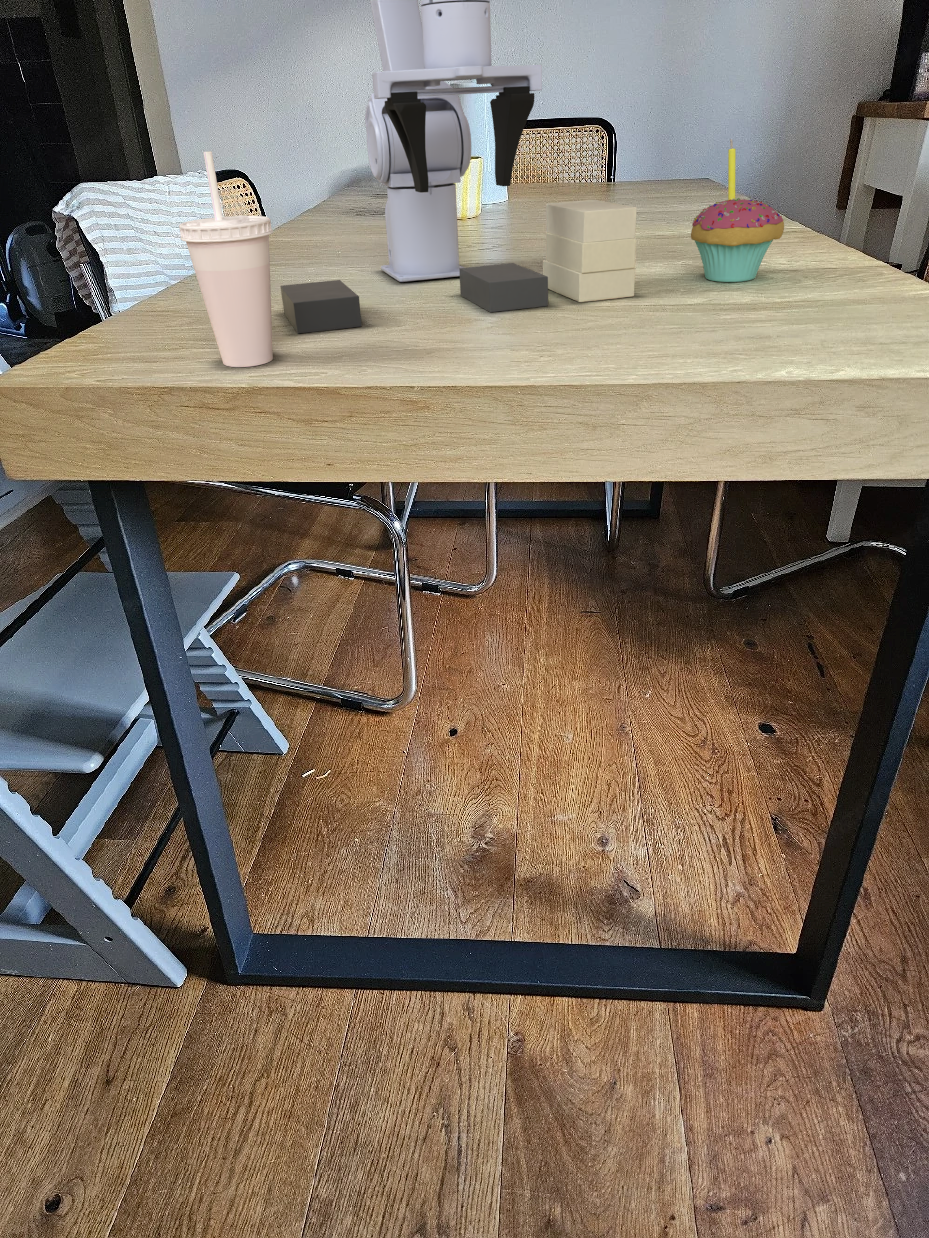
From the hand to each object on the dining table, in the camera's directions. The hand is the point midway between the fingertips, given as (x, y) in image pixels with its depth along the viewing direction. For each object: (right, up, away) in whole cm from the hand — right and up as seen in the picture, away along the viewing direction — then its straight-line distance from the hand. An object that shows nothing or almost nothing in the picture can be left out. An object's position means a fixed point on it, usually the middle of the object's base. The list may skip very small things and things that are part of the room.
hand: (462, 188), depth 80 cm
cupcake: (+26, -5, +7) cm, 28 cm away
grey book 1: (-13, -12, -1) cm, 18 cm away
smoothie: (-16, -19, -13) cm, 28 cm away
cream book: (+12, -3, +2) cm, 12 cm away
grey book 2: (+4, -9, +3) cm, 10 cm away
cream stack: (+12, -8, +5) cm, 15 cm away
